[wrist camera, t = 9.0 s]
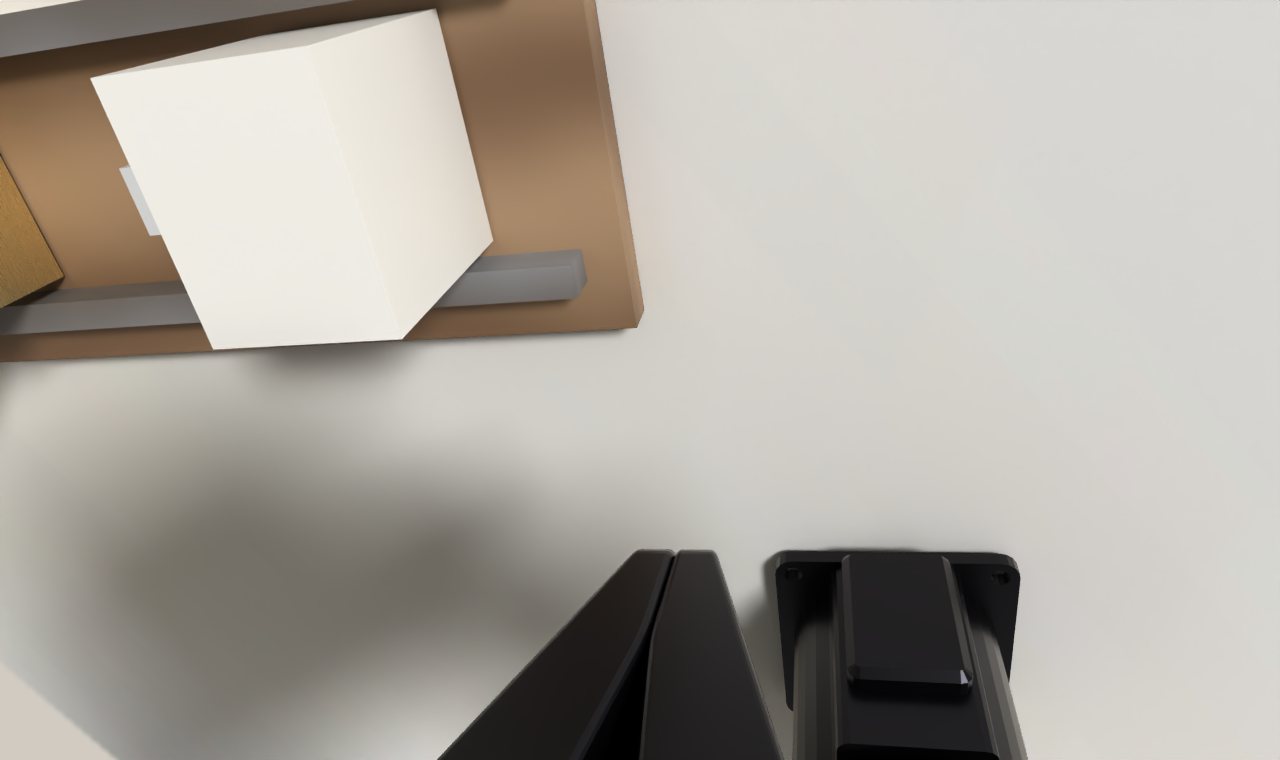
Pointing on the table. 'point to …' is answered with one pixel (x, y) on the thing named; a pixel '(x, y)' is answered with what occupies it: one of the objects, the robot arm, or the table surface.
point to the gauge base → (271, 3)
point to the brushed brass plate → (21, 246)
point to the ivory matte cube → (305, 178)
